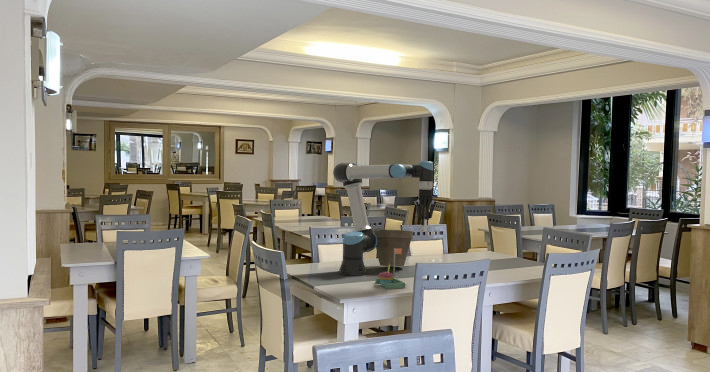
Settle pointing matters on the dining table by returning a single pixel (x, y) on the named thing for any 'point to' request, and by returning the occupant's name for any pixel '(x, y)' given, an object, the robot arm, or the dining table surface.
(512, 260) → the dining table surface
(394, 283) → the mini putting green
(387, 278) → the cupcake
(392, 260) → the plant pot
